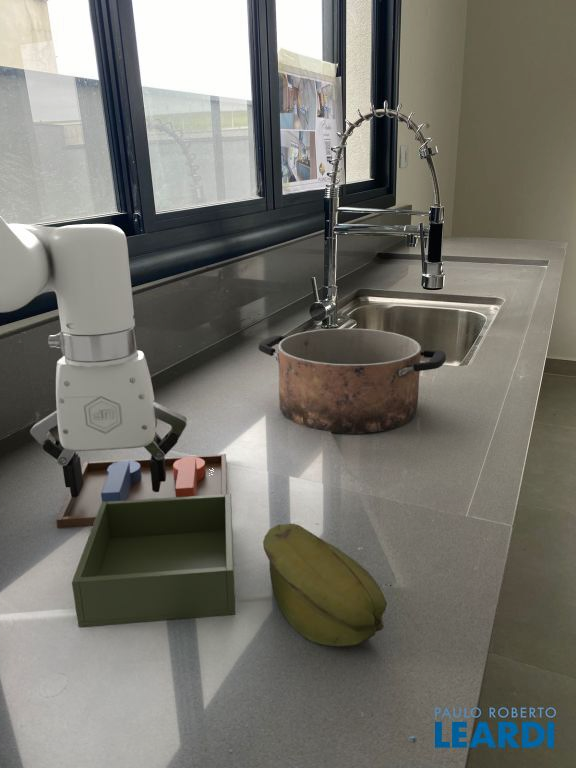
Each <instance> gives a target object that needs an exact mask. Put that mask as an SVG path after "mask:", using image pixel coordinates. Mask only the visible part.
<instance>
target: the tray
mask: <svg viewBox="0 0 576 768" xmlns="http://www.w3.org/2000/svg"><path fill="white" fill-rule="evenodd" d="M186 457H197V458H201V459H203V460H204V461H205V468H206V475H205V477H204V478H202V479H201V480H198V481H197V492H196V496H205V495H221V494H228V479H227V478H228V477H227V475H228V473H227V472H228V471H227V454H226V453H218V454H198V455H182V456H165V469H166V481H164V482H161V485H160V490H159V492H154V491H152V481H151V471H150V459H151V457H147V458H132V459H131V458H129V459H112V460H111V459H110V460H93V461H84V462H83V464H82V465H81V469H82V476H83V487H82V489H81V491H80V494H79V496H77V497H71V492H70V491H69V493H68V495H67V496H66V499H65V501H64V503H63V505H62V507H61V509H60V511H59V513H58V515H57V517H56V520H55V521H56V528H57V529H69V528H84V527H93V524H94V521H95V519H96V516H97V513H98V510H99V508H100V505H101V502H102V497H101V492H102V490H103V487H104V484H105V482H106V479H107V477H108V473H107V469H108V467H109V466H110V465H112V464H113V463H116V462H120V461H136V462H138V463H139V464H140V466H141V476H142V477H141V479H140V481H138V482H137V483H135V484H132V485H131V487H130V491H129V494H128V497H127V500H141V499H157V498H173V497H176V493H175V487H176V479H175V478H174V473H173V464H174V462H175V461H177V460H179V459H182V458H186ZM212 468H213V469H214V470H213V469H212ZM209 469H210V470H213V471H214V472H213V471H210V470H209ZM211 472H212V473H211ZM209 473H210V474H209ZM211 474H213V475H211ZM209 475H210V476H209Z"/></svg>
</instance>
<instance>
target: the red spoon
mask: <svg viewBox="0 0 576 768" xmlns="http://www.w3.org/2000/svg"><path fill="white" fill-rule="evenodd" d="M173 473H174V478H175V479H176V487H175V493H176V497H189V496H196V492H197V481H198V480H201V479H202V478H204V477H205V475H206V468H205V461H204V460H203V459H201V458H197V457H186V458H182V459H179V460H177V461H175V462H174V464H173Z"/></svg>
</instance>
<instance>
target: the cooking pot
mask: <svg viewBox="0 0 576 768" xmlns="http://www.w3.org/2000/svg"><path fill="white" fill-rule="evenodd" d="M276 345H278V347H277V348H278V350H277V351H278V352H276V348H274V346H276ZM257 348H258V351H259V352H262V353H264V354H266V355H268V356H270V357H272V356H275V360H276V362H277V363H278V400H279V401H278V402H279V411H281V413H282V415H283V416H284V417H285V418H286V419H288V420H289V421H292V422H294V423H296V424H298V425H301V426H304V427H307V428H311V429H315V430H317V431H318V430H319V431H325V432H330V434H339V435H340V434H341V435H363V434H374V433H381V432H386V431H389V430H394V429H396V428H399V427H401V426H403V425H405V424H407V423H409V421H410V420H412V418H414V416H416V414H417V411H418V403H419V390H420V389H419V387H420V372H422V371H430V370H436V369H439V368H441V367H442V366H443V365H444V364H445V363H446V360H447V357H446V356H447V355H446V352H445V351H443V350H440V349H425V350H423V351H422V347H421V344H420V343H418V341H416V339H413V338H411V337H409V336H406V335H403V334H399V333H396V332H391V331H387V330H386V331H385V330H379V329H370V328H369V329H367V328H347V327H346V328H342V327H341V328H322V329H315V330H308V331H302V332H298V333H294V334H291V335H289V336H287V335H277V334H276V335H272V336H269V337H267V338H265V339H263V340H261V341H260V342H259V343H258V347H257ZM421 356H423V357H424V358H429V361H423V362H421Z"/></svg>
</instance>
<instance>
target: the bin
mask: <svg viewBox="0 0 576 768" xmlns="http://www.w3.org/2000/svg"><path fill="white" fill-rule="evenodd" d="M232 512H233V511H232V494H231V493H227V494H221V495H205V496H189V497H173V498H157V499H141V500H125V501H109V502H101V505H100V508H99V510H98V513H97V516H96V519H95V521H94V524H93V526H91V530H90V532H89V535H88V537H87V540H86V543H85V546H84V549H83V551H82V554H81V556H80V559H79V562H78V564H77V567H76V570H75V573H74V575H73V578H72V580H71V586H72V593H73V600H74V606H75V613H76V620H77V621H76V622H77V626H78V628H82V627H83V628H84V627H96V626H108V625H121V624H132V623H145V622H156V621H157V622H158V621H170V620H171V621H172V620H182V619H195V618H207V617H218V616H231V615H236V594H235V593H236V592H235V589H236V588H235V564H234V562H235V561H234V535H233V534H234V533H233V516H232V515H233V513H232Z"/></svg>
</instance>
